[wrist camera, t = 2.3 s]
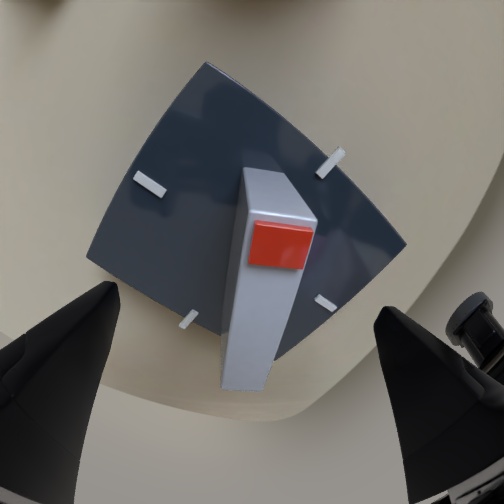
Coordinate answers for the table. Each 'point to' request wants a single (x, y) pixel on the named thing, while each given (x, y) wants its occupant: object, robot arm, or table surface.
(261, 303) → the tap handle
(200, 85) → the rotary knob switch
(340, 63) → the table surface
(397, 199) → the table surface
